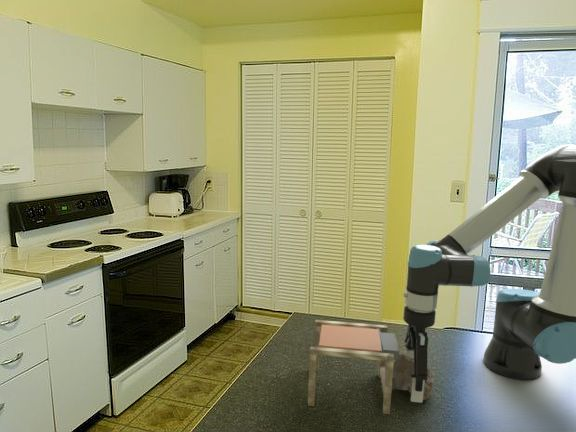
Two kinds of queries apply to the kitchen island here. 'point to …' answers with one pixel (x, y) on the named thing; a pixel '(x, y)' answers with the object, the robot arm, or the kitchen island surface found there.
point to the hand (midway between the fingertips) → (412, 386)
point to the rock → (409, 376)
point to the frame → (382, 357)
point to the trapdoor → (358, 339)
